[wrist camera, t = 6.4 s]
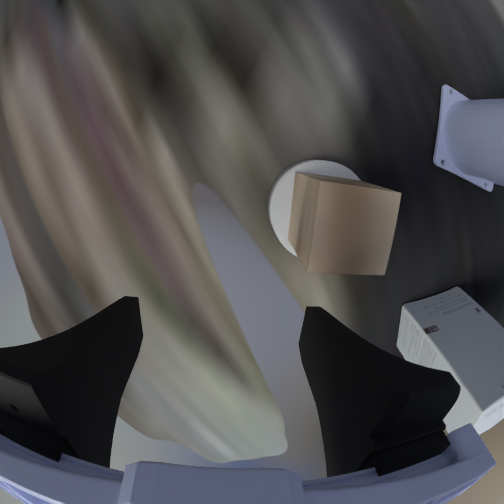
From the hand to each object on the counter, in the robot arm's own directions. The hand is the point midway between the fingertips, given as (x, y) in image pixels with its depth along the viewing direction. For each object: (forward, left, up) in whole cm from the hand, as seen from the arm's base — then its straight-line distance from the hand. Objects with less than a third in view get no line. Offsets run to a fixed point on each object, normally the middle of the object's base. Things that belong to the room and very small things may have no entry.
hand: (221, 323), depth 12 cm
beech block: (-6, -4, -8) cm, 11 cm away
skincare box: (-22, +5, -11) cm, 25 cm away
